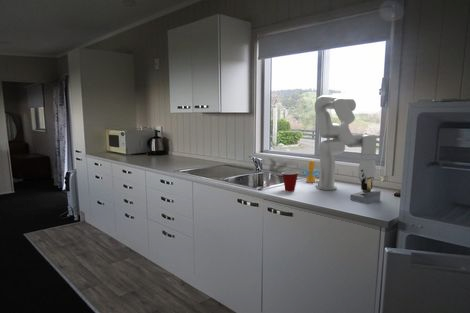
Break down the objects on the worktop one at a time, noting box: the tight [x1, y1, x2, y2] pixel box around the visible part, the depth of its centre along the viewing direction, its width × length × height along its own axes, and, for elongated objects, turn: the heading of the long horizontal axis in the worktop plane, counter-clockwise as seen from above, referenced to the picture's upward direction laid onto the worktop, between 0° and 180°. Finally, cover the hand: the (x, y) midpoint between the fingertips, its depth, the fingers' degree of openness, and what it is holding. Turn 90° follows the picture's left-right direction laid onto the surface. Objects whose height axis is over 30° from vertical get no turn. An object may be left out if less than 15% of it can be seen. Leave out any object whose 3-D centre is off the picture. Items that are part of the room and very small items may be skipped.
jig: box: [349, 189, 381, 204], centre depth 184 cm, size 11×12×5 cm
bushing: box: [361, 178, 372, 193], centre depth 183 cm, size 4×4×8 cm
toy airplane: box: [302, 160, 320, 183], centre depth 233 cm, size 12×10×15 cm
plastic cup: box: [281, 171, 299, 192], centre depth 206 cm, size 11×11×12 cm
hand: (366, 189), depth 183 cm, fingers closed on bushing, 4 cm apart
